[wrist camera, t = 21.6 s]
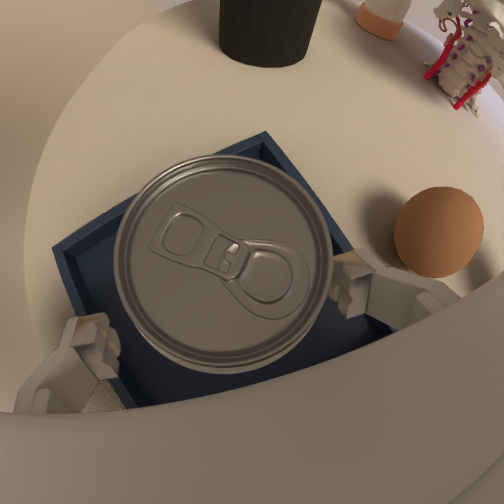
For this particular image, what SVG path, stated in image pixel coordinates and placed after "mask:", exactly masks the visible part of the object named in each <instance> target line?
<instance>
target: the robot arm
mask: <svg viewBox="0 0 504 504" xmlns="http://www.w3.org/2000/svg"><path fill="white" fill-rule="evenodd" d="M328 296H329V297H330V299H331V300H332V301H333V302H336V303H338V309H339V311H340V312H341V313H342V315H343V316H344V317H345V319H349V318H352V317H355V316H358V315H361V314H364V313H366V314H367V315H369V316H371V317H373V318H375V319H377V320H379V321H381V322H383V323H385V324H387V325H389V326H391V327H393V328H395V329H397V330H399V331H397V332H395V333H393V334H391V335H389V336H386V337H384V338H382V339H380V340H377V341H375V342H373V343H371V344H368V345H366V346H364V347H361V348H359V349H356V350H354V351H351V352H349V353H346V354H344V355H341V356H338V357H336V358H333V359H331V360H328V361H325V362H322V363H320V364H317V365H314V366H311V367H308V368H305V369H302V370H299V371H296V372H293V373H290V374H287V375H283V376H280V377H277V378H274V379H270V380H267V381H263V382H260V383H256V384H253V385H249V386H245V387H241V388H238V389H234V390H230V391H225V392H221V393H217V394H212V395H208V396H203V397H199V398H194V399H189V400H183V401H178V402H172V403H166V404H160V405H154V406H147V407H140V408H132V409H123V410H114V411H103V412H89V413H81V411H82V410H83V408H84V406H85V404H86V403H87V401H88V399H89V398H90V396H91V394H92V392H93V391H94V389H95V387H96V386H97V384H98V382H99V380H105V379H111V378H117V377H119V366H120V363H119V361H118V360H117V358H118V356H119V355H120V354H121V344H120V339H119V336H118V334H117V332H116V330H115V329H114V328H112V327H111V326H109V323H110V319H109V317H108V316H107V314H106V313H105V312H99V313H93V314H88V315H82V316H77V317H72V318H69V319H68V320H67V323H66V326H65V329H64V332H63V335H62V338H61V341H60V344H59V348H58V349H55V350H54V351H53V352H52V353H51V354H50V355H49V356H48V357H47V358H46V359H45V360H44V362H43V363H42V364H41V365H40V366H39V367H38V368H37V369H36V370H35V371H34V373H33V374H32V375H31V376H30V377H29V378H28V379H27V380H26V382H25V383H24V384H23V385H22V386H21V387H20V388H19V392H18V395H17V399H16V402H15V406H14V410H13V413H5V412H0V504H504V271H503V272H502V273H500V274H499V275H497V276H496V277H494V278H493V279H491V280H490V281H488V282H487V283H485V284H483V285H482V286H480V287H479V288H477V289H475V290H474V291H472V292H470V293H469V294H467V295H465V296H464V297H462V298H461V297H459V296H458V295H457V294H456V293H455V292H454V291H453V290H451V289H450V288H449V287H448V286H447V285H446V284H444V283H443V282H441V281H437V280H434V279H431V278H427V277H424V276H420V275H417V274H413V273H410V272H407V271H403V270H400V269H396V268H393V267H388V268H387V267H385V266H384V265H383V264H382V263H381V262H380V261H379V260H377V259H376V258H375V257H374V256H373V255H372V254H371V253H369V252H368V251H367V250H366V249H365V248H358V249H355V250H351V251H349V252H346V253H342V254H339V255H335V256H333V274H332V280H331V285H330V289H329V292H328Z"/></svg>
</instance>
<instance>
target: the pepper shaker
mask: <svg viewBox="0 0 504 504" xmlns="http://www.w3.org/2000/svg"><path fill="white" fill-rule="evenodd" d="M411 1H412V0H366V1H365V3H363V4H361V7H360V9H359V12H358V14H357V16H356V22H357V23H358V24H359V25H360V26H361V27H362V28H364V29H365V30H367V31H368V32H370V33H372V34H374V35H376V36H379V37H381V38H384V39H388V40H394V39H396V37H397V35H398V33H399V31H400V29H401V27H402V26H403V21H402V20H403V18H404V17H405V15H406V13H407V11H408V10H409V8H410V5H411Z"/></svg>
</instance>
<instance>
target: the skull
mask: <svg viewBox="0 0 504 504" xmlns="http://www.w3.org/2000/svg"><path fill="white" fill-rule="evenodd" d="M467 2H468V4H467V6H465V4H466V3H467ZM461 4H464V5H463V6H462V5H461ZM468 5H469V6H470V8H471V10H472V13H473V14H470V13H468V12H465V11H462V8H463V7H464V6H465V7H468ZM434 14H435V15H436V17H437V18H438V19H439V28H440V29H441V31H443V32H446V31H447V29H446V26H445V23H444V22H445V20H451V21H452V22H453V23H454V24H455V26H456V32H455V34H454V36H453V33H450V34H449V35H448V36H447V39H446V41H445V43H444V47H445V48H444V51H443V53H442V55H441V56H440V58H439V59H438V60H437V61H435V62H432V61H429V62H427V61H423V62H424V64H426V65H427V66H428V65H429V67H430V68H431V69H430V70H429V71H428V72H427V73H426V74H425V75H424V78H425V79H427V80H428V79H429V78H430V77H431V78H433V77H434V76H435V75H438V76H439V78H438V79H439V81H438V82H439V86H441V87H442V89H443V90H444V91H445V92H446V93H447V94H449V95H450V96H452V97H454V98H455V97H459V98H460V99H459V100H458V101H457V102H456V104H454V106H453V107H454V109H456V110H458V109H459V108H460V107H461V106H462V105H463V104H464V103H465V104H467V106H468V107H469V108H470V110H471V111H472V112H473V114H474V115H475V116H476V117H477V118H479V117H480V113H479V111H478V108H479V107H478V105H477V104H476V99H475V98H474V96H477V94H481V90H482V88H483V87H484V86H485V85H487V82H488V81H489V79H490V77H493V78H495V79H497V80H498V81H499V83H500V84H501V86H502V87H503V88H504V0H464V2H463V3H461V0H444V1H443V2H442V3H441V4H440V5H439V7H438V8H434ZM458 14H459V15H460V16H461V17H463V18H467V20H465V22H464V26H465V27H466V28H465V27H463V26H462V25H460V19H459V17H458ZM448 17H450V18H456V21H457V24H456V23H455V22H454V21H453V20H452V19H450V18H448ZM442 20H443V26H444V28H445V30H443V29H442V28H441V22H442ZM471 21H473V24H472V25H471V26H469V25H468V23H469V22H471ZM477 29H478V30H477ZM461 30H462V31H464V37H461V35H462V32H461ZM455 41H458V42H457V45H454V42H455ZM487 55H488V56H487ZM468 103H469V104H468Z"/></svg>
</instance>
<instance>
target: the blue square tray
mask: <svg viewBox="0 0 504 504" xmlns="http://www.w3.org/2000/svg"><path fill="white" fill-rule="evenodd" d="M214 154H234V155H242V156H247V157H251V158H255V159H258V160H261V161H264V162H266V163H269V164H271V165H273V166H275V167H277V168H279V169H280V170H282V171H284V172H285V173H287V174H288V175H289V176H291V177H292V178H293V179H295V180H296V181H297V182H298V183H299V184H300V185H301V186H302V187H303V188H304V189H305V190H306V191H307V192H308V193H309V195H310V196H311V197H312V198H313V200H314V201H315V203H316V204H317V206H318V207H319V209H320V211H321V213H322V215H323V217H324V219H325V222H326V224H327V227H328V230H329V233H330V237H331V242H332V248H333V256H335V255H339V254H342V253H346V252H349V251H351V250H354V249H353V247H352V246H351V244H350V243H349V241H348V240H347V238H346V237H345V235H344V234H343V232H342V231H341V230H340V228H339V227H338V225H337V224H336V222H335V221H334V219H333V218H332V217H331V215H330V214H329V212H328V211H327V209H326V208H325V207H324V205H323V204H322V202H321V201H320V200H319V198H318V197H317V196H316V194H315V193H314V192H313V190H312V189H311V187H310V186H309V185H308V183H307V182H306V181H305V179H304V178H303V177H302V175H301V174H300V173H299V172H298V170H297V169H296V168H295V166H294V165H293V164H292V162H291V161H290V160H289V159H288V157H287V156H286V155H285V154H284V152H283V151H282V150H281V149H280V147H279V146H278V145H277V144H276V142H275V141H274V140H273V139H272V137H271V136H270V135H269V134H268V133H267V131H264V132H262V133H259V134H257V135H255V136H253V137H250V138H248V139H246V140H243V141H241V142H239V143H236V144H234V145H232V146H230V147H227V148H225V149H223V150H221V151H219V152H216V153H214ZM137 194H138V193H137ZM137 194H135V195H133V196H132V197H130V198H128V199H127V200H125V201H123V202H121V203H120V204H118V205H116V206H115V207H113V208H111V209H110V210H108V211H107V212H105V213H103V214H102V215H100V216H99V217H97V218H95V219H94V220H92V221H91V222H89V223H88V224H86V225H85V226H83V227H81V228H80V229H78V230H77V231H75V232H74V233H72V234H71V235H70V236H68V237H67V238H65V239H64V240H62V241H61V242H59V243H58V244H56V245H55V246H53V247H52V251H53V254H54V257H55V260H56V263H57V266H58V269H59V272H60V275H61V278H62V280H63V283H64V286H65V288H66V291H67V294H68V296H69V299H70V301H71V304H72V306H73V309H74V311H75V313H76V316H82V315H88V314H93V313H99V312H105V313H106V314H107V316H108V317H109V319H110V323H109V326H111V327H112V328H114V329H115V330H116V332H117V334H118V336H119V339H120V344H121V354H120V355H119V356H118V358H117V360H118V361H119V363H120V366H119V377H117V378H111V379H108V380H109V382H110V383H111V385H112V387H113V388H114V390H115V392H116V393H117V395H118V397H119V398H120V400H121V402H122V403H123V405H124V406H125V408H126V409H132V408H140V407H147V406H154V405H160V404H166V403H172V402H178V401H183V400H189V399H194V398H199V397H203V396H208V395H212V394H217V393H221V392H225V391H230V390H234V389H238V388H241V387H245V386H249V385H253V384H256V383H260V382H263V381H267V380H270V379H274V378H277V377H280V376H283V375H287V374H290V373H293V372H296V371H299V370H302V369H305V368H308V367H311V366H314V365H317V364H320V363H322V362H325V361H328V360H331V359H333V358H336V357H338V356H341V355H344V354H346V353H349V352H351V351H354V350H356V349H359V348H361V347H364V346H366V345H368V344H371V343H373V342H375V341H377V340H380V339H382V338H384V337H386V336H389V335H391V334H393V333H395V332H397V331H399V330H397V329H395V328H393V327H391V326H389V325H387V324H385V323H383V322H381V321H379V320H377V319H375V318H373V317H371V316H369V315H367V314H366V313H364V314H361V315H358V316H355V317H352V318H349V319H345V317H344V316H343V315H342V313H341V312H340V311H339V309H338V303H336V302H333V301H332V300H331V299H330V297H329V296H328V295H327V298H326V300H325V303H324V305H323V307H322V309H321V311H320V313H319V315H318V316H317V318H316V320H315V322H314V323H313V325H312V327H311V328H310V330H309V331H308V332H307V334H306V335H305V336H304V337H303V339H302V340H301V341H300V342H299V343H298V344H297V345H296V346H295V347H294V348H293V349H291V350H290V351H289V352H288V353H286V354H285V355H284V356H282V357H281V358H279V359H277V360H276V361H274V362H272V363H270V364H268V365H265V366H263V367H260V368H258V369H255V370H251V371H247V372H242V373H235V374H213V373H206V372H201V371H197V370H193V369H190V368H187V367H185V366H182V365H180V364H178V363H176V362H174V361H172V360H170V359H169V358H167V357H165V356H164V355H163V354H161V353H160V352H159V351H157V350H156V349H155V348H154V347H153V346H152V345H151V344H150V343H149V342H148V341H147V340H146V339H145V338H144V337H143V336H142V334H141V333H140V332H139V330H138V329H137V328H136V326H135V324H134V323H133V321H132V320H131V318H130V317H129V315H128V313H127V311H126V310H125V308H124V306H123V303H122V301H121V299H120V296H119V293H118V290H117V286H116V281H115V275H114V262H113V258H114V246H115V241H116V236H117V232H118V229H119V226H120V223H121V221H122V218H123V216H124V214H125V212H126V210H127V209H128V207H129V205H130V204H131V202H132V201H133V199H134V198H135V197H136V195H137Z"/></svg>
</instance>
